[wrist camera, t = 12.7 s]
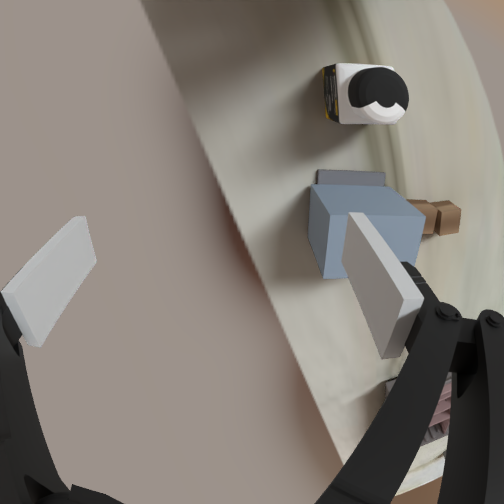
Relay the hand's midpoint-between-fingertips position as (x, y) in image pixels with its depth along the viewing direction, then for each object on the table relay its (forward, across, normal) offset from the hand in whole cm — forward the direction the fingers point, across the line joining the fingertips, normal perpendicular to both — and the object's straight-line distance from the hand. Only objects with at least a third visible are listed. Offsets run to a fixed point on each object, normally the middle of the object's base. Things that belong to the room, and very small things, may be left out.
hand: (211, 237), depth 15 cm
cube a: (+28, +27, -10) cm, 41 cm away
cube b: (+28, +32, -10) cm, 44 cm away
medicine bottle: (+28, +15, +7) cm, 33 cm away
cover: (+27, +16, -10) cm, 33 cm away
